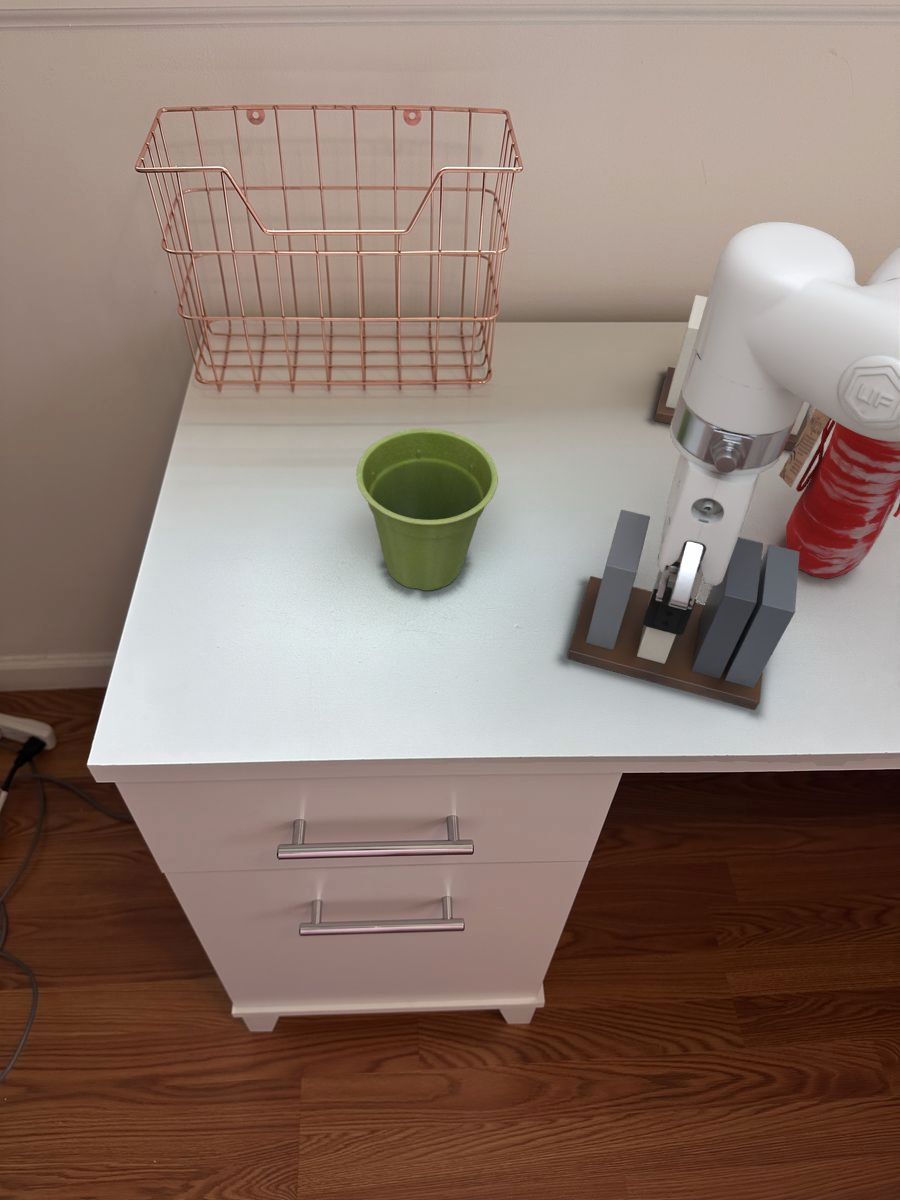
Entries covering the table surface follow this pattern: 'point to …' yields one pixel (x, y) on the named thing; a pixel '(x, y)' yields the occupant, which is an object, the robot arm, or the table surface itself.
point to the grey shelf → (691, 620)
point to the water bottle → (840, 496)
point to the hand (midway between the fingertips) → (669, 593)
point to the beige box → (656, 633)
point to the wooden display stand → (677, 374)
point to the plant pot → (426, 501)
